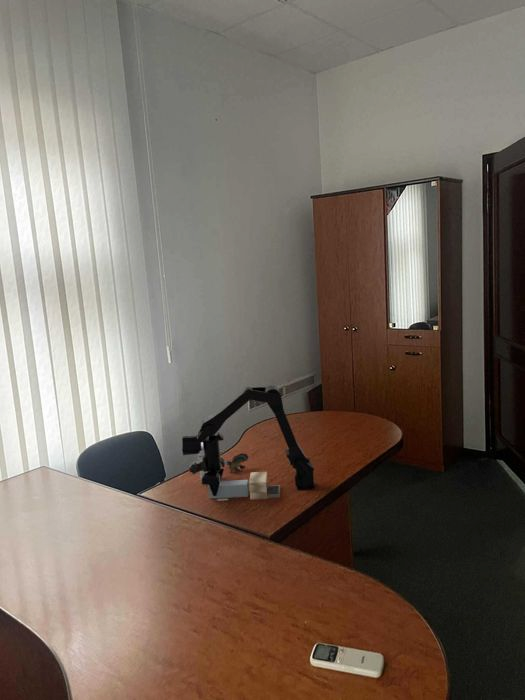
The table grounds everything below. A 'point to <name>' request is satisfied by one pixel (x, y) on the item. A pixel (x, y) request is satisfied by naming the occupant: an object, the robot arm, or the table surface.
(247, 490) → the grey rectangular block
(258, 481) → the tunnel
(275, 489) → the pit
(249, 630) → the table surface
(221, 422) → the robot arm
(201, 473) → the syrup box
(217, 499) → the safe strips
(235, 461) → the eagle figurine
